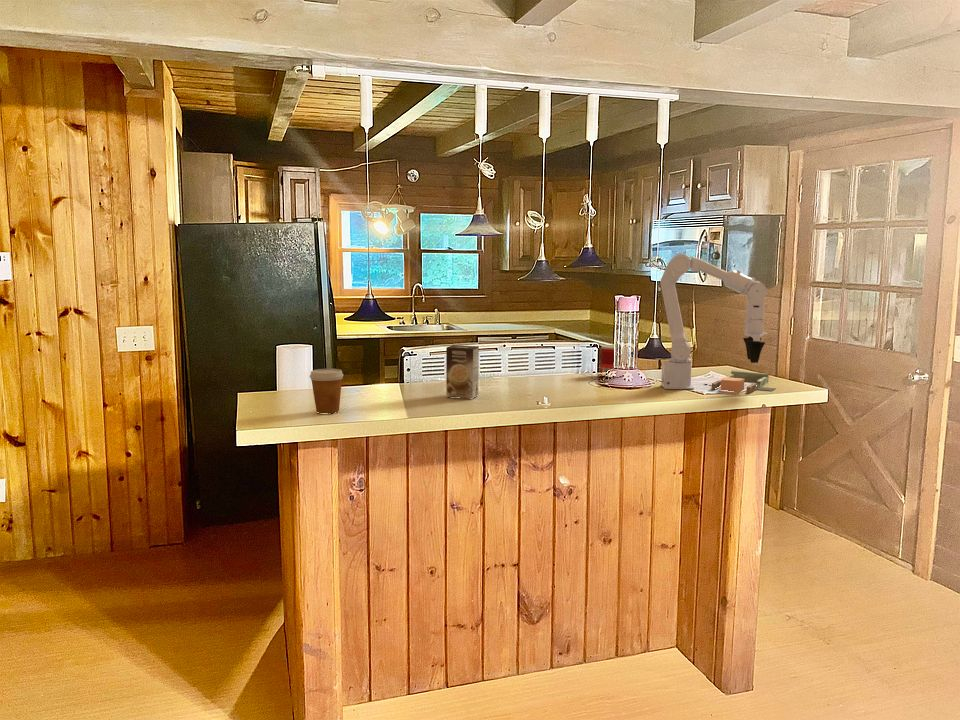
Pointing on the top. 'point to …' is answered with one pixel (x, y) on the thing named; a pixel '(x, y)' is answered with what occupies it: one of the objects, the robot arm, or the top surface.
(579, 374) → the top surface
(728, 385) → the block
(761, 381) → the trap lane
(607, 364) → the canned food
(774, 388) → the trap pads
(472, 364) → the coffee box
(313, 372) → the disposable coffee cup
